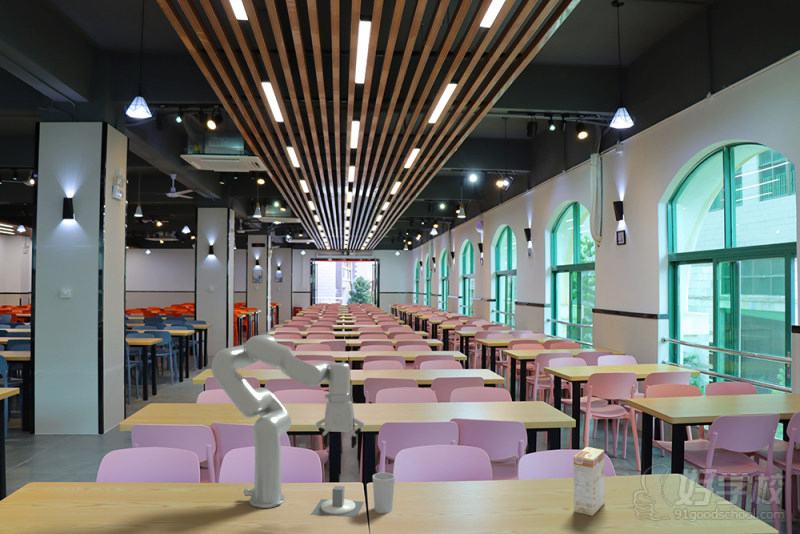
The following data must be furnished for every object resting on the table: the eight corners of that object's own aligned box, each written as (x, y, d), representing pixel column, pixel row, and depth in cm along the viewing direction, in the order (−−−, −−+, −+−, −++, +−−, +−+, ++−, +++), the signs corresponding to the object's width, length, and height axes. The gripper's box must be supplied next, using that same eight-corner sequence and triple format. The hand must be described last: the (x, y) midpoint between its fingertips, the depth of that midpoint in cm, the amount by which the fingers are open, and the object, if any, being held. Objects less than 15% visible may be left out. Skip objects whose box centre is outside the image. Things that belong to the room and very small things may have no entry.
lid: (317, 513, 197) (317, 492, 197) (325, 500, 209) (326, 481, 209) (351, 515, 195) (351, 494, 195) (358, 502, 207) (358, 482, 207)
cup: (392, 516, 196) (392, 480, 197) (369, 514, 198) (370, 479, 198) (396, 507, 204) (397, 473, 204) (375, 505, 206) (375, 471, 206)
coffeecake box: (586, 498, 214) (586, 446, 215) (605, 503, 210) (605, 449, 211) (572, 511, 202) (572, 455, 203) (593, 516, 198) (593, 459, 199)
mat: (310, 515, 196) (310, 514, 196) (321, 500, 210) (321, 499, 210) (356, 518, 194) (356, 517, 194) (364, 503, 208) (364, 501, 208)
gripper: (313, 399, 201) (313, 449, 200) (361, 400, 199) (361, 450, 198) (319, 395, 209) (319, 443, 208) (365, 396, 206) (366, 444, 205)
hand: (340, 446), depth 203 cm, fingers open, 9 cm apart
